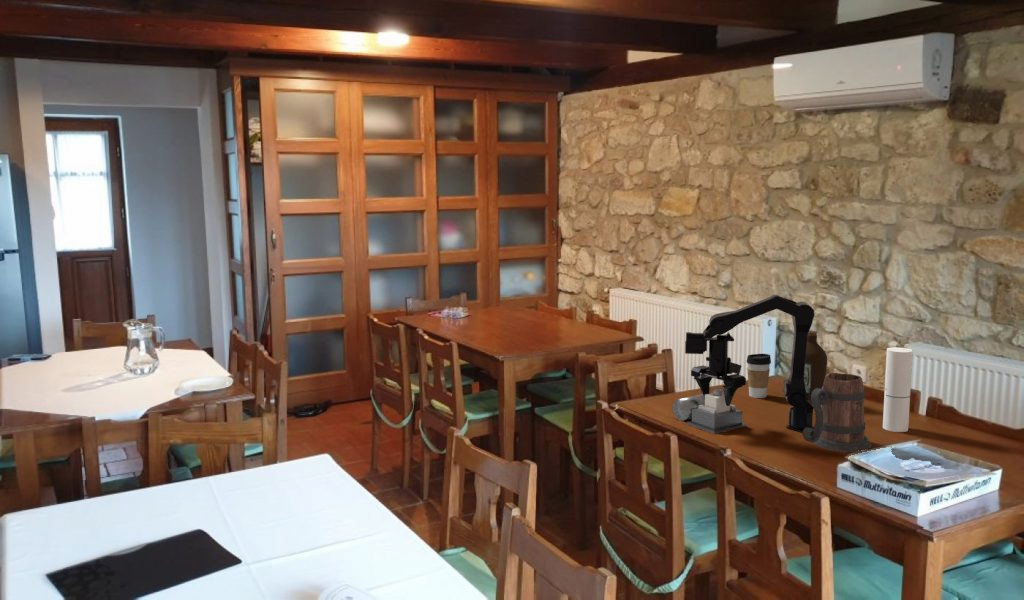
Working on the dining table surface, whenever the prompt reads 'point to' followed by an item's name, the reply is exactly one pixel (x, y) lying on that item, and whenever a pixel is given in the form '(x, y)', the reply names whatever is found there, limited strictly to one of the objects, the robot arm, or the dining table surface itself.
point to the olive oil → (814, 365)
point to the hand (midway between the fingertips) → (717, 402)
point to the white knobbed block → (716, 401)
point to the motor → (707, 415)
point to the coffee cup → (758, 374)
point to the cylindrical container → (897, 389)
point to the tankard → (839, 414)
